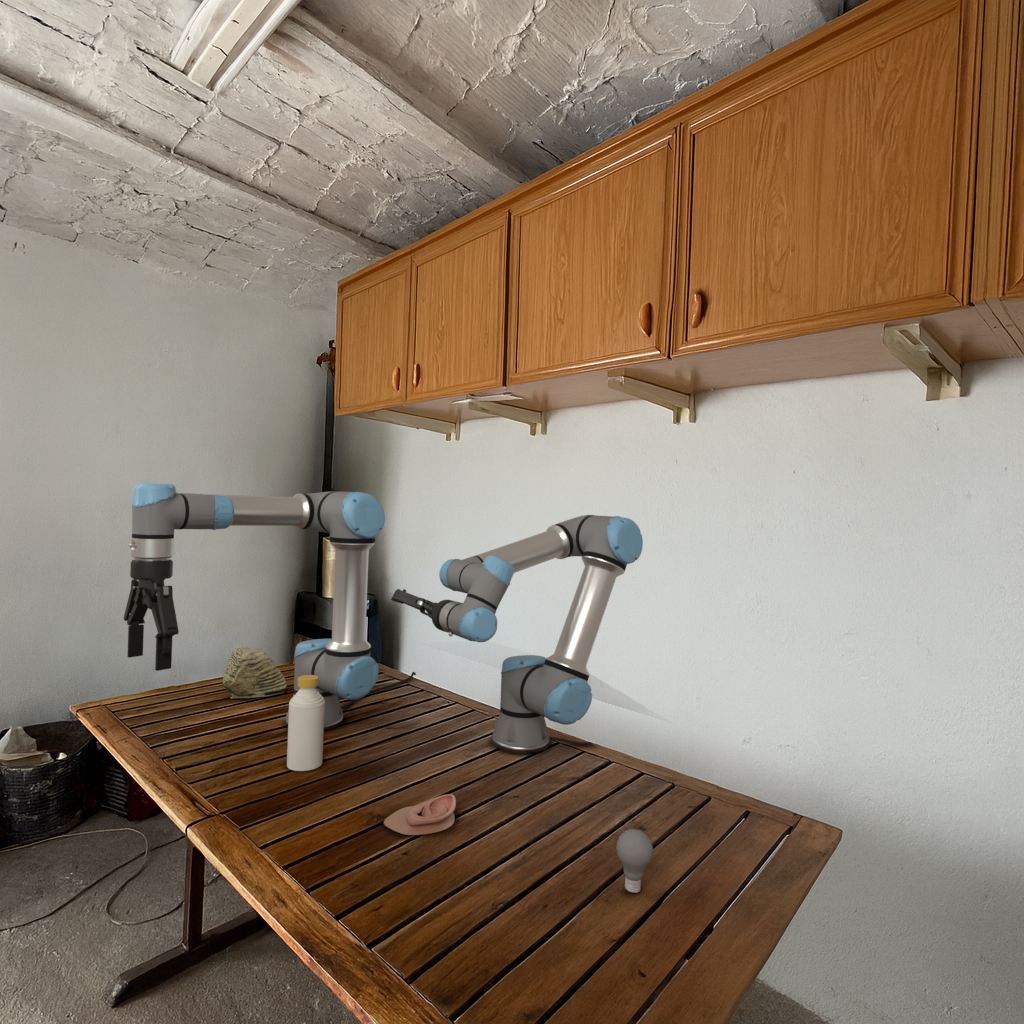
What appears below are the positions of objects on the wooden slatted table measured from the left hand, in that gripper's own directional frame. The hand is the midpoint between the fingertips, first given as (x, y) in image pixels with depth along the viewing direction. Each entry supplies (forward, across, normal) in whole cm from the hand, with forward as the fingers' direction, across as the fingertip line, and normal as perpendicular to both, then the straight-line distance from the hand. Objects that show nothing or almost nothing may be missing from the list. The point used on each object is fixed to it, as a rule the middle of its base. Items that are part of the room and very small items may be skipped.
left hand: (148, 662), depth 129 cm
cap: (+8, +8, +32) cm, 34 cm away
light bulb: (+28, +90, +41) cm, 103 cm away
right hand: (-7, +14, +60) cm, 62 cm away
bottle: (+28, +8, +32) cm, 43 cm away
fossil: (+28, -47, +50) cm, 74 cm away
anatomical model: (+28, +48, +32) cm, 64 cm away
